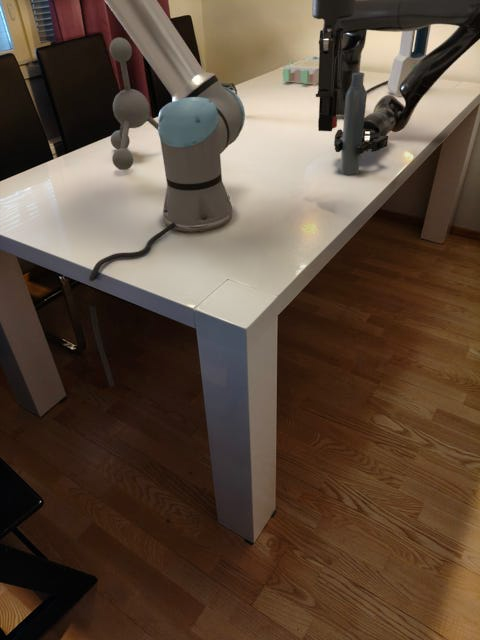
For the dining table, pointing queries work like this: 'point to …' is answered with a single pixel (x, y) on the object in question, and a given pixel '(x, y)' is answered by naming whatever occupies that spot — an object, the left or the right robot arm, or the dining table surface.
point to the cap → (333, 122)
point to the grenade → (229, 86)
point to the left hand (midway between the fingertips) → (327, 127)
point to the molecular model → (127, 108)
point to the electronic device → (408, 57)
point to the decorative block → (302, 71)
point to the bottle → (353, 125)
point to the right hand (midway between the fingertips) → (347, 149)
